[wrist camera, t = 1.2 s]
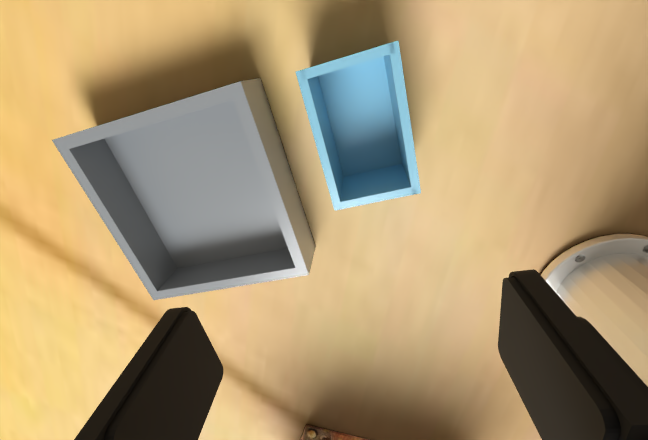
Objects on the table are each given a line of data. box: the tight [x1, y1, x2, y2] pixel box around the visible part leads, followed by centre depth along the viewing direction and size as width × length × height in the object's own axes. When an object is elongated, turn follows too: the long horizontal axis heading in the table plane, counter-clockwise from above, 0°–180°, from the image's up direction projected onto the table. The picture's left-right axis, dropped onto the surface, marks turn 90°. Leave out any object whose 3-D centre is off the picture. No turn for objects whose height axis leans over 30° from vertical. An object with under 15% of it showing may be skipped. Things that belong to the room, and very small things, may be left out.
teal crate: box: [296, 41, 421, 210], centre depth 24 cm, size 6×10×6 cm, turn 15°
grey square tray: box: [52, 78, 316, 300], centre depth 29 cm, size 17×17×5 cm
